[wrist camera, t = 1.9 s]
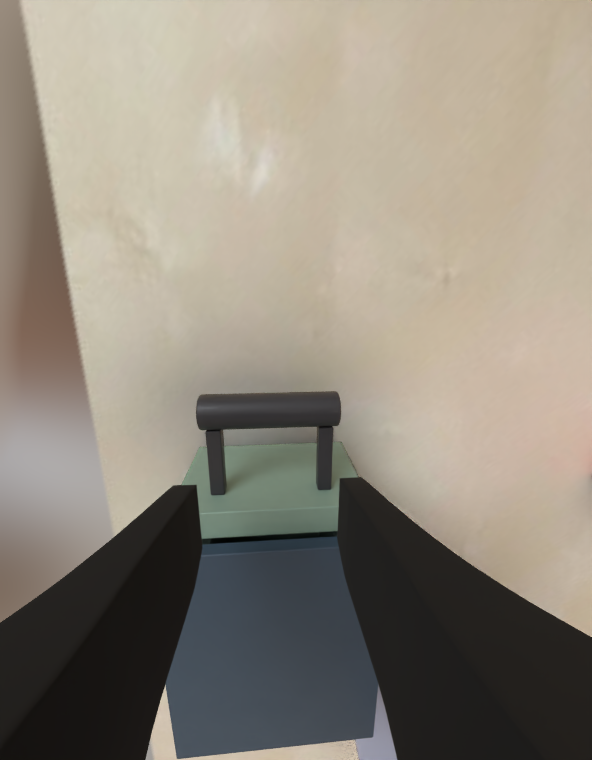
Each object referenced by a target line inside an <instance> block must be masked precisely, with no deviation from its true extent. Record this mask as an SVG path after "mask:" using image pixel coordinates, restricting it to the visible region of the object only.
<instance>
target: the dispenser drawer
mask: <svg viewBox="0 0 592 760" xmlns="http://www.w3.org/2000/svg"><path fill="white" fill-rule="evenodd" d="M196 419H197V424H198V428H199V429H200V430H206V444H207V447H200V448H199V450H198V452H197V454H196V456H195V458H194V460H193V462H192V464H191V466H190V468H189V470H188V472H187V475H186V477H185V479H184V481H183V483H182V485H197V494H198V504H199V515H200V525H201V536H202V544H217V543H234V542H251V541H268V540H284V539H301V538H318V537H335V536H337V533H338V508H339V483H340V478H353V477H358V475H357V473H356V471H355V469H354V467H353V465H352V463H351V461H350V459H349V457H348V455H347V452H346V450H345V448H344V446H343V444H342V442H333V427H332V426H338V425H339V423H340V419H341V403H340V397H339V394H338V393H337V392H336V391H331V392H289V393H247V394H205V395H200V396H199V398H198V401H197V407H196ZM287 427H317V443H298V444H271V445H243V446H224V438H223V430H225V429H256V428H287Z"/></svg>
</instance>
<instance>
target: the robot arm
mask: <svg viewBox="0 0 592 760" xmlns="http://www.w3.org/2000/svg"><path fill="white" fill-rule="evenodd" d="M337 541H338V546H339V551H340V556H341V561H342V566H343V571H344V576H345V579H346V583H347V586H348V589H349V592H350V596H351V599H352V602H353V605H354V608H355V612H356V615H357V618H358V621H359V624H360V627H361V630H362V634H363V637H364V640H365V643H366V646H367V649H368V653H369V656H370V659H371V662H372V665H373V668H374V671H375V675H376V678H377V681H378V693H377V704H376V714H375V724H374V735H373V737H372V738H363V739H355V742H356V747H357V752H358V758H359V760H592V637H590V636H588V635H587V634H585V633H583V632H581V631H579V630H578V629H576V628H574V627H572V626H571V625H569V624H567V623H565V622H564V621H562V620H560V619H558V618H557V617H555V616H553V615H551V614H550V613H548V612H546V611H544V610H543V609H541V608H539V607H537V606H536V605H534V604H532V603H530V602H529V601H527V600H526V599H524V598H522V597H521V596H519V595H517V594H516V593H514V592H512V591H511V590H509V589H508V588H506V587H504V586H503V585H501V584H500V583H498V582H497V581H495V580H494V579H492V578H491V577H489V576H487V575H486V574H484V573H483V572H481V571H480V570H478V569H477V568H475V567H474V566H472V565H471V564H469V563H468V562H466V561H465V560H464V559H462V558H461V557H459V556H458V555H456V554H455V553H454V552H452V551H451V550H450V549H448V548H447V547H446V546H444V545H443V544H442V543H440V542H439V541H438V540H436V539H435V538H433V537H432V536H431V535H430V534H428V533H427V532H426V531H424V530H423V529H422V528H421V527H419V526H418V525H417V524H416V523H414V522H413V521H412V520H411V519H409V518H408V517H407V516H406V515H405V514H403V513H402V512H401V511H400V510H399V509H398V508H396V507H395V506H394V505H393V504H392V503H391V502H389V501H388V500H387V499H386V498H385V497H384V496H382V495H381V494H380V493H379V492H378V491H377V490H376V489H375V488H373V487H372V486H371V485H370V484H369V483H368V482H366V481H365V480H364V479H363V478H362V477H353V478H340V483H339V508H338V533H337ZM202 548H203V546H202V536H201V525H200V515H199V504H198V494H197V485H176V486H172V487H171V488H170V489H169V490H168V491H166V492H165V493H164V494H163V495H162V496H161V497H160V498H158V499H157V500H156V501H155V502H154V503H153V504H152V505H151V506H149V507H148V508H147V509H146V510H145V511H144V512H143V513H142V514H140V515H139V516H138V517H137V518H136V519H135V520H133V521H132V522H131V523H130V524H129V525H128V526H127V527H125V528H124V529H123V530H122V531H121V532H120V533H118V534H117V535H116V536H115V537H114V538H113V539H111V540H110V541H109V542H108V543H106V544H105V545H104V546H103V547H101V548H100V549H99V550H98V551H96V552H95V553H94V554H93V555H91V556H90V557H89V558H88V559H86V560H85V561H84V562H83V563H81V564H80V565H79V566H78V567H76V568H75V569H74V570H73V571H72V572H70V573H69V574H68V575H66V576H65V577H64V578H62V579H61V580H60V581H58V582H57V583H56V584H54V585H53V586H52V587H50V588H49V589H48V590H46V591H45V592H43V593H42V594H41V595H39V596H38V597H37V598H35V599H34V600H32V601H31V602H29V603H28V604H27V605H25V606H24V607H22V608H21V609H19V610H18V611H16V612H15V613H14V614H12V615H11V616H9V617H8V618H6V619H5V620H4V621H2V622H1V623H0V760H145V759H146V754H147V750H148V746H149V741H150V737H151V733H152V729H153V725H154V722H155V718H156V714H157V711H158V707H159V703H160V700H161V697H162V693H163V690H164V687H165V684H166V680H167V677H168V674H169V671H170V667H171V664H172V661H173V658H174V654H175V651H176V648H177V645H178V642H179V638H180V635H181V632H182V629H183V625H184V622H185V619H186V616H187V612H188V609H189V606H190V602H191V599H192V596H193V592H194V589H195V584H196V580H197V575H198V570H199V564H200V559H201V553H202Z"/></svg>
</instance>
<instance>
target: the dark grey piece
mask: <svg viewBox="0 0 592 760" xmlns="http://www.w3.org/2000/svg"><path fill="white" fill-rule="evenodd" d="M347 455H348V454H347ZM348 457H349V456H348ZM349 459H350V458H349ZM350 461H351V460H350ZM351 463H352V462H351ZM352 465H353V464H352ZM353 467H354V466H353ZM354 469H355V468H354ZM355 471H356V470H355ZM356 473H357V472H356ZM357 475H358V474H357ZM358 477H359V476H358ZM202 546H203V548H202V553H201V559H200V564H199V570H198V575H197V580H196V584H195V589H194V592H193V596H192V599H191V602H190V606H189V609H188V612H187V616H186V619H185V622H184V625H183V629H182V632H181V635H180V638H179V642H178V645H177V648H176V651H175V654H174V658H173V661H172V664H171V667H170V671H169V674H168V677H167V680H166V691H167V697H168V704H169V710H170V717H171V723H172V730H173V736H174V743H175V749H176V756H177V759H182V758H191V757H200V756H209V755H218V754H227V753H236V752H245V751H254V750H263V749H273V748H282V747H291V746H300V745H309V744H318V743H327V742H336V741H345V740H354V739H363V738H372V737H373V735H374V724H375V714H376V704H377V693H378V681H377V678H376V675H375V671H374V668H373V665H372V662H371V659H370V656H369V653H368V649H367V646H366V643H365V640H364V637H363V634H362V630H361V627H360V624H359V621H358V618H357V615H356V612H355V608H354V605H353V602H352V599H351V596H350V592H349V589H348V586H347V583H346V579H345V576H344V571H343V566H342V561H341V556H340V551H339V546H338V541H337V536H335V537H318V538H301V539H284V540H268V541H251V542H234V543H217V544H202Z"/></svg>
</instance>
